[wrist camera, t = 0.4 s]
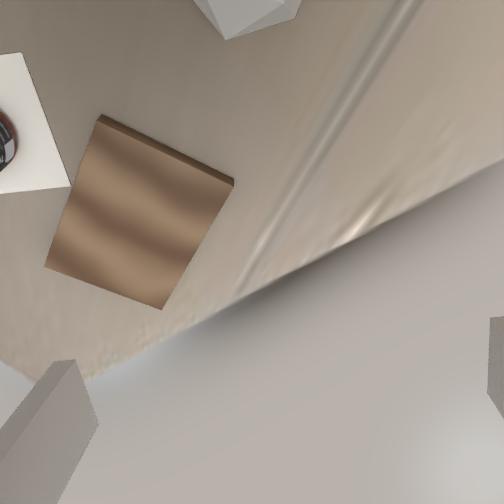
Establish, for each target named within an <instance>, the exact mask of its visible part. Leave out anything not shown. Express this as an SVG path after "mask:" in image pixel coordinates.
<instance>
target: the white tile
mask: <svg viewBox="0 0 504 504" xmlns="http://www.w3.org/2000/svg"><path fill="white" fill-rule="evenodd" d="M0 112H1V113H2V114H3V115H4V116H5V117H6V118H7V119H8V121H9V122H10V123H11V125H12V127H13V129H14V131H15V133H16V138H17V151H16V154H15V157H14V158H13V160H12V161H11V162H10V163H9V164H8V165H7V166H6V167H5V168H4V169H3V170H2V171H1V172H0V194H2V193H11V192H21V191H30V190H39V189H48V188H58V187H67V186H71V183H70V181H69V178H68V175H67V173H66V170H65V167H64V165H63V162H62V159H61V156H60V154H59V151H58V148H57V146H56V143H55V140H54V138H53V135H52V132H51V130H50V127H49V124H48V121H47V119H46V116H45V113H44V111H43V108H42V105H41V103H40V100H39V97H38V95H37V92H36V89H35V86H34V84H33V81H32V78H31V76H30V73H29V70H28V68H27V65H26V62H25V60H24V57H23V54H22V52H19V53H11V54H2V55H0Z"/></svg>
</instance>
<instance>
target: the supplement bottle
mask: <svg viewBox="0 0 504 504" xmlns="http://www.w3.org/2000/svg"><path fill="white" fill-rule="evenodd" d="M16 151H17V138H16V133H15V131H14V129H13V127H12V125H11V123H10V122H9V121H8V119H7V118H6V117H5V116H4V115H3V114H2V113H1V112H0V172H1V171H2V170H3V169H4V168H5V167H6V166H7V165H8V164H9V163H10V162H11V161H12V160H13V158H14V157H15V154H16Z"/></svg>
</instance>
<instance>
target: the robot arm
mask: <svg viewBox="0 0 504 504" xmlns="http://www.w3.org/2000/svg"><path fill="white" fill-rule="evenodd" d="M487 393H488V394H489V396H490V398H491V399H492V401H493V402H494V404H495V405H496V407H497V409H498V410H499V412H500V413H501V415H502V417H503V418H504V316H503V317H494V318H490V335H489V363H488V390H487ZM98 425H99V423H98V420H97V417H96V415H95V412H94V409H93V406H92V403H91V401H90V398H89V395H88V392H87V390H86V387H85V384H84V381H83V379H82V376H81V373H80V370H79V368H78V365H77V362H76V359H75V360H65V361H55V362H53V364H52V365H51V366H50V367H49V369H48V370H47V371H46V372H45V374H44V375H43V376H42V377H41V379H40V380H39V381H38V382H37V384H36V385H35V386H34V387H33V389H32V390H31V391H30V393H29V394H28V395H27V396H26V398H25V399H24V400H23V401H22V402H21V404H20V405H19V406H18V407H17V409H16V410H15V411H14V412H13V414H12V415H11V416H10V418H9V419H8V420H7V421H6V423H5V424H4V425H3V426H2V427H1V429H0V504H57V503H58V501H59V499H60V497H61V495H62V493H63V491H64V490H65V488H66V486H67V484H68V482H69V480H70V478H71V476H72V474H73V472H74V471H75V469H76V467H77V465H78V463H79V461H80V459H81V457H82V455H83V454H84V452H85V450H86V448H87V446H88V444H89V442H90V440H91V438H92V437H93V435H94V433H95V431H96V429H97V427H98Z"/></svg>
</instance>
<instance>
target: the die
mask: <svg viewBox="0 0 504 504" xmlns="http://www.w3.org/2000/svg"><path fill="white" fill-rule="evenodd" d="M193 1H194V2H195V3H196V4H197V6H198V7H199V8H200V9H201V11H202V12H203V13H204V14H205V16H206V17H207V18H208V19H209V21H210V22H211V23H212V24H213V26H214V27H215V28H216V29H217V31H218V32H219V33H220V34H221V36H222V37H223V38H224V39H225V40H229V39H232V38H236V37H239V36H242V35H245V34H248V33H251V32H254V31H257V30H260V29H263V28H266V27H269V26H273V25H276V24H279V23H282V22H285V21H288V20H291V19H294V18H295V17H296V14H297V11H298V9H299V6H300V3H301V1H302V0H193Z"/></svg>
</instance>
